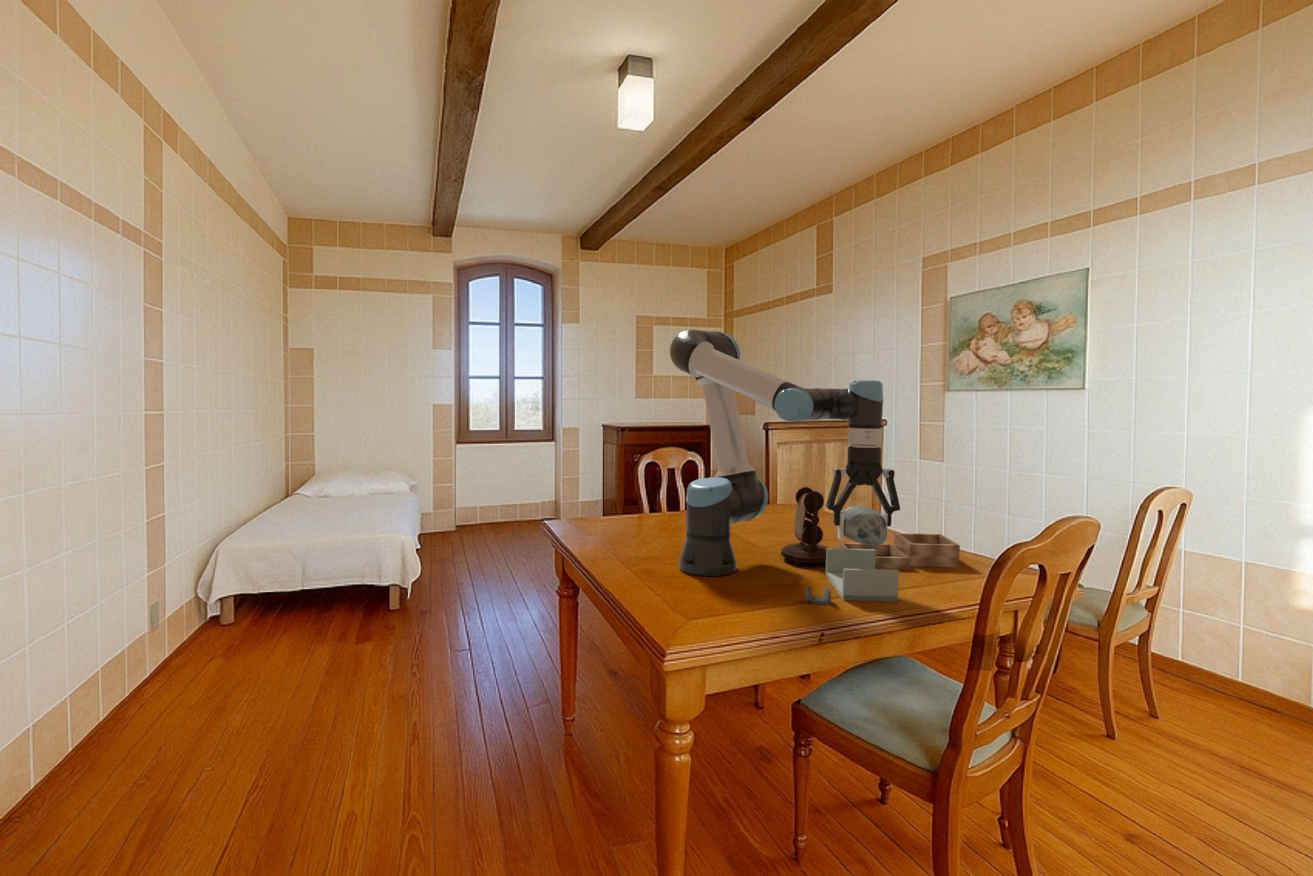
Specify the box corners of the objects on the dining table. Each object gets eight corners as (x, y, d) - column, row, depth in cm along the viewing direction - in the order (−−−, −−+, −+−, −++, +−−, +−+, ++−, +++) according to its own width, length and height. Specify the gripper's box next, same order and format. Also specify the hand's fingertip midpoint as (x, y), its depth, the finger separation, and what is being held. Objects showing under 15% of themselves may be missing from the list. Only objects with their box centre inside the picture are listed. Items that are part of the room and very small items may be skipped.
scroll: (774, 553, 181) (775, 485, 180) (823, 552, 183) (825, 484, 181) (790, 568, 167) (792, 494, 165) (844, 567, 168) (846, 493, 167)
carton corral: (909, 566, 170) (910, 544, 169) (893, 553, 183) (894, 533, 182) (958, 567, 169) (959, 545, 169) (939, 554, 182) (940, 534, 182)
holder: (843, 600, 142) (844, 569, 142) (825, 575, 161) (826, 548, 161) (897, 601, 142) (898, 571, 141) (873, 576, 161) (874, 549, 160)
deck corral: (852, 567, 168) (852, 556, 168) (838, 553, 183) (839, 542, 182) (909, 569, 167) (910, 558, 167) (891, 554, 182) (891, 544, 182)
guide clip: (808, 603, 140) (808, 590, 140) (805, 599, 143) (806, 586, 143) (830, 604, 140) (831, 591, 139) (827, 599, 142) (828, 586, 142)
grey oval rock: (902, 534, 143) (880, 496, 144) (867, 554, 142) (845, 515, 143) (878, 535, 157) (858, 499, 158) (846, 553, 156) (826, 517, 157)
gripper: (820, 446, 145) (818, 542, 147) (918, 447, 144) (914, 543, 146) (814, 444, 153) (811, 534, 155) (906, 444, 152) (903, 536, 154)
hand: (861, 539), depth 150 cm, fingers closed on grey oval rock, 9 cm apart
